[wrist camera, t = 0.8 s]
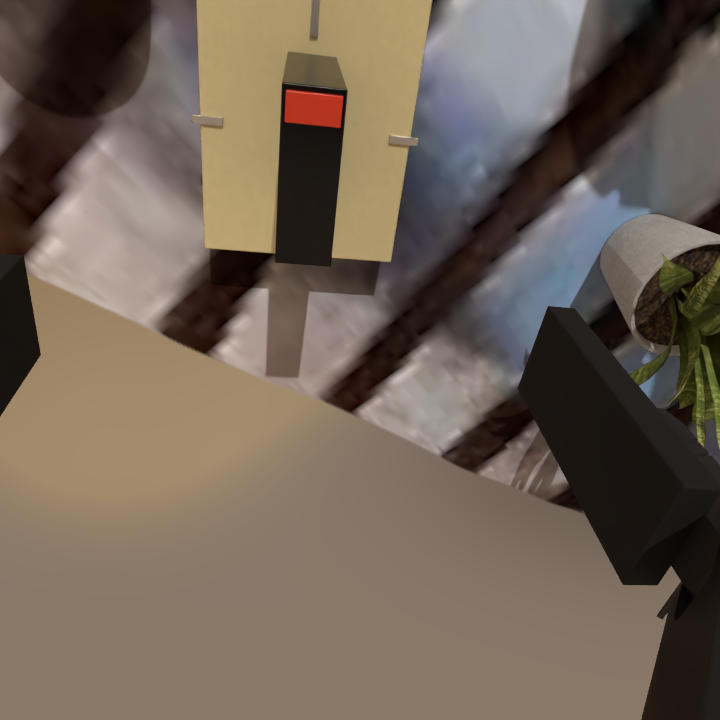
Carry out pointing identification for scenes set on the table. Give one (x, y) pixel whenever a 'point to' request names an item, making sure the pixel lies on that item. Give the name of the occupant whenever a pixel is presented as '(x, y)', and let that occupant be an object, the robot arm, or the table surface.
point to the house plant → (671, 304)
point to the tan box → (263, 111)
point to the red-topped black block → (309, 158)
